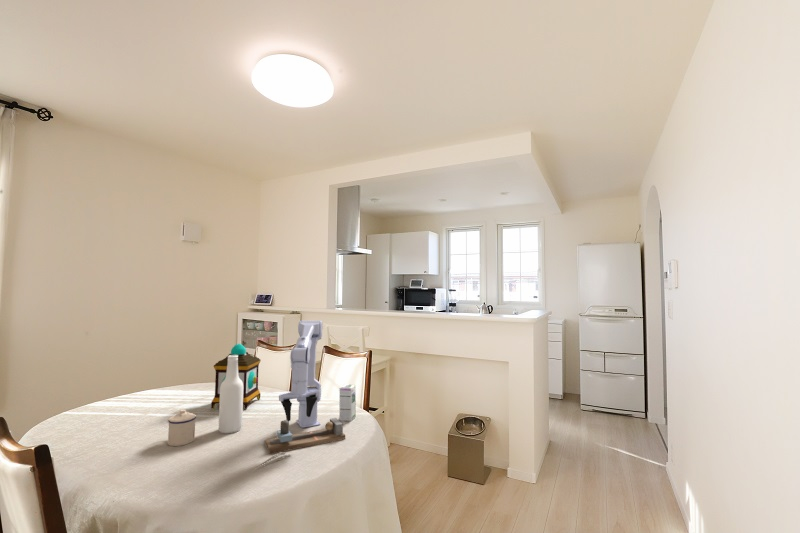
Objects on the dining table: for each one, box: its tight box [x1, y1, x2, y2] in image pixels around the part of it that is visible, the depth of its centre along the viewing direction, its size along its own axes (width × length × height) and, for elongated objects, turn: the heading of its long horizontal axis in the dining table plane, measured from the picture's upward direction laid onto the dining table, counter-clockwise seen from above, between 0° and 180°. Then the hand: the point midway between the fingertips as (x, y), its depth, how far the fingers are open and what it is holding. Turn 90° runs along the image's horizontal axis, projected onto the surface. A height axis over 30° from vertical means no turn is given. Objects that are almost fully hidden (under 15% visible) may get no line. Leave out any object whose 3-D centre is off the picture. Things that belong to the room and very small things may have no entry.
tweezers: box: [256, 451, 292, 469], centre depth 124 cm, size 18×5×2 cm, turn 147°
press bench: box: [264, 417, 346, 455], centre depth 143 cm, size 10×28×6 cm, turn 119°
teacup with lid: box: [167, 409, 197, 447], centre depth 143 cm, size 12×9×12 cm
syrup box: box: [338, 384, 357, 422], centre depth 168 cm, size 6×6×14 cm
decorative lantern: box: [210, 343, 261, 411], centre depth 189 cm, size 20×20×30 cm
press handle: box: [276, 419, 293, 443], centre depth 139 cm, size 7×4×6 cm, turn 29°
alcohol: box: [218, 355, 244, 435], centre depth 155 cm, size 9×9×30 cm
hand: (298, 418), depth 138 cm, fingers open, 7 cm apart
